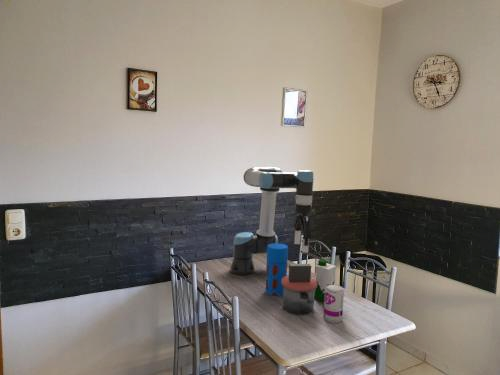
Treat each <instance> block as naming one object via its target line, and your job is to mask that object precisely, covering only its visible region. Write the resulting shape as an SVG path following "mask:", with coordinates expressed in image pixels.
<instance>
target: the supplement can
mask: <svg viewBox="0 0 500 375" xmlns="http://www.w3.org/2000/svg"><path fill="white" fill-rule="evenodd" d="M344 295H345V291H344V289H343V286H341V285H338V284H334V285H328V286H327V287H326V289H325V301H324V303H323V319H325V321H327V322H329V323H333V324H336V323H340V322H341V321H343V312H344V311H343V310H344V297H345V296H344Z"/></svg>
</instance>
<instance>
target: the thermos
mask: <svg viewBox="0 0 500 375" xmlns="http://www.w3.org/2000/svg"><path fill="white" fill-rule="evenodd" d="M288 252H289V247H288V245H287V244H284V243H279V242H278V243H274V244H269V245H268V247H267V254H266V266H265V267H266V269H265V270H266V272H265V293H266V294H268V295H270V296H275V297H279V296H281V297H282V296H283V285H282V284H281V280H282V278H283V277H285V276H288V275H287V274H288V257H289V253H288Z"/></svg>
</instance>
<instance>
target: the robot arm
mask: <svg viewBox="0 0 500 375" xmlns="http://www.w3.org/2000/svg"><path fill="white" fill-rule="evenodd" d="M243 182H244V183H245V184H246V185H247V186H250V187H254V188H259V190H260V191H261V192H262V193H261V202H260V203H261V204H260V214H259V216H260V217H259V228H258V229H257V230H256V232H255V234H254V233H253V232H251V231H250V232H247V231H245V232H239V233H237V234H236V235H235V236H234V237H233V238H234V239H233V258H232V261H231V264H230V268H229V271H230V273H232V274H233V275H237V276H250V275H252V274H254V273H255V272H256V271H255V270H256V267H255V264H254V260H253V259H254V258H253V255H264V254H265V255H267V247H268V245H269V244H274V243H278V244H279V239H278V236H277V234H276V232H275V231H274V226H275V224H274V223H275V212H276V205H277V204H276V203H277V193H278V192H280V189H295V190H296V192H295V196H294V199H295V205H294V207H295V209H294V211H295V212H296V213H295V214H296V216H295V220H294V225H293V228H294V242H293V243H294V245H301V240H302V247H301V253H309V247H310V246H309V244H310V239H311V238H312V235H311V222H310V220H311V217H310V216H308V214H310V213H312V206H313V205H312V203H313V191H314V190H313V189H314V172H313V171H312V170H305V169H300V170H298V171H297V172H296V171H293V172H292V171H291V172H283V171H282V169H281V168H280V167H275V166H274V167H273V166H253V167H250V168H248V169H247V170H245V172H244V173H243ZM301 234H302V235H303V236H302V235H301ZM301 236H302V237H301ZM301 238H302V239H301Z"/></svg>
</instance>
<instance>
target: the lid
mask: <svg viewBox="0 0 500 375" xmlns="http://www.w3.org/2000/svg"><path fill="white" fill-rule="evenodd" d="M311 271H312V265H311V263H289V264H288V275H287V276H285V277H283V278H282V280H281V284H282V285H283V286H284V287H286V288H288V289H291V290H295V291H311V290H314V289H316V288H317V281H316V278H314V277H311V276H312V272H311Z"/></svg>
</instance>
